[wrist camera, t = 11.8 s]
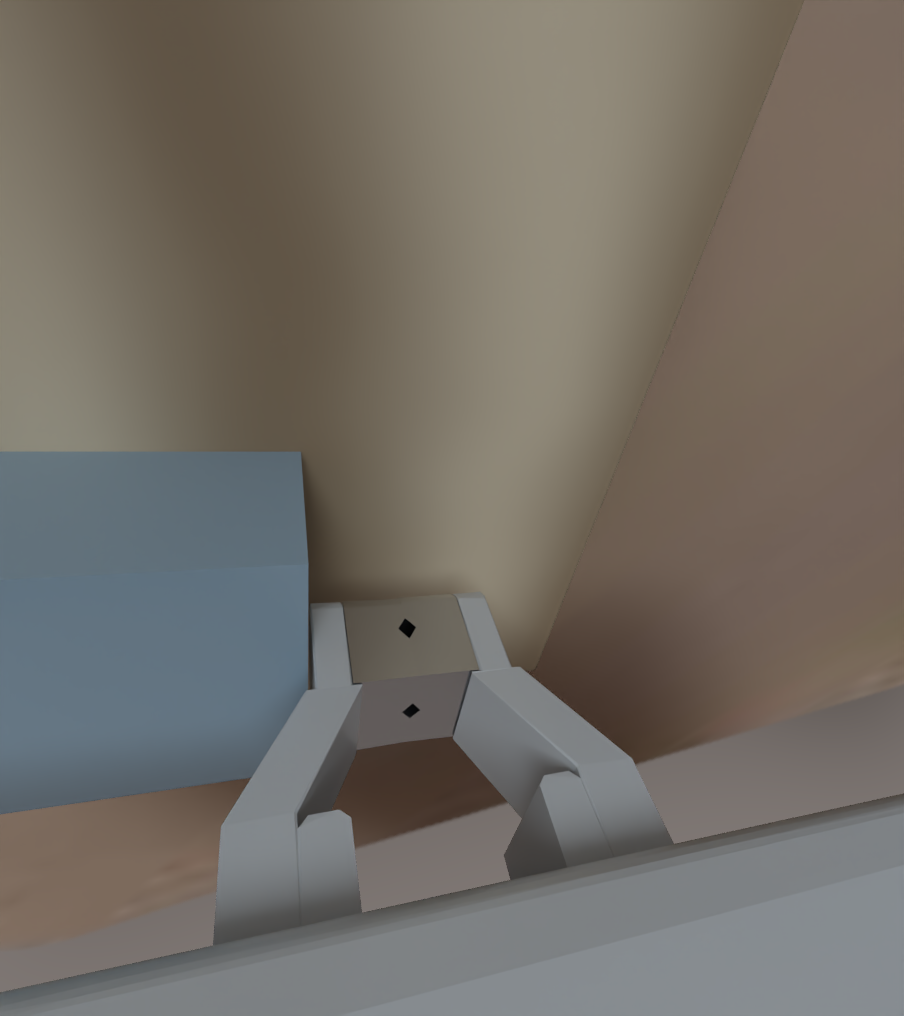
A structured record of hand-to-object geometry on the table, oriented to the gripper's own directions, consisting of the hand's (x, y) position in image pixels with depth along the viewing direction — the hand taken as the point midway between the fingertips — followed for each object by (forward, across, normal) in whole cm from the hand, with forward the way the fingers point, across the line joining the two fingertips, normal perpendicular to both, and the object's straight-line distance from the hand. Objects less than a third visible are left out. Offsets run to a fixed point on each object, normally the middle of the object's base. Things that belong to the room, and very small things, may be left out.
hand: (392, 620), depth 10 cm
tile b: (+1, +4, 0) cm, 4 cm away
